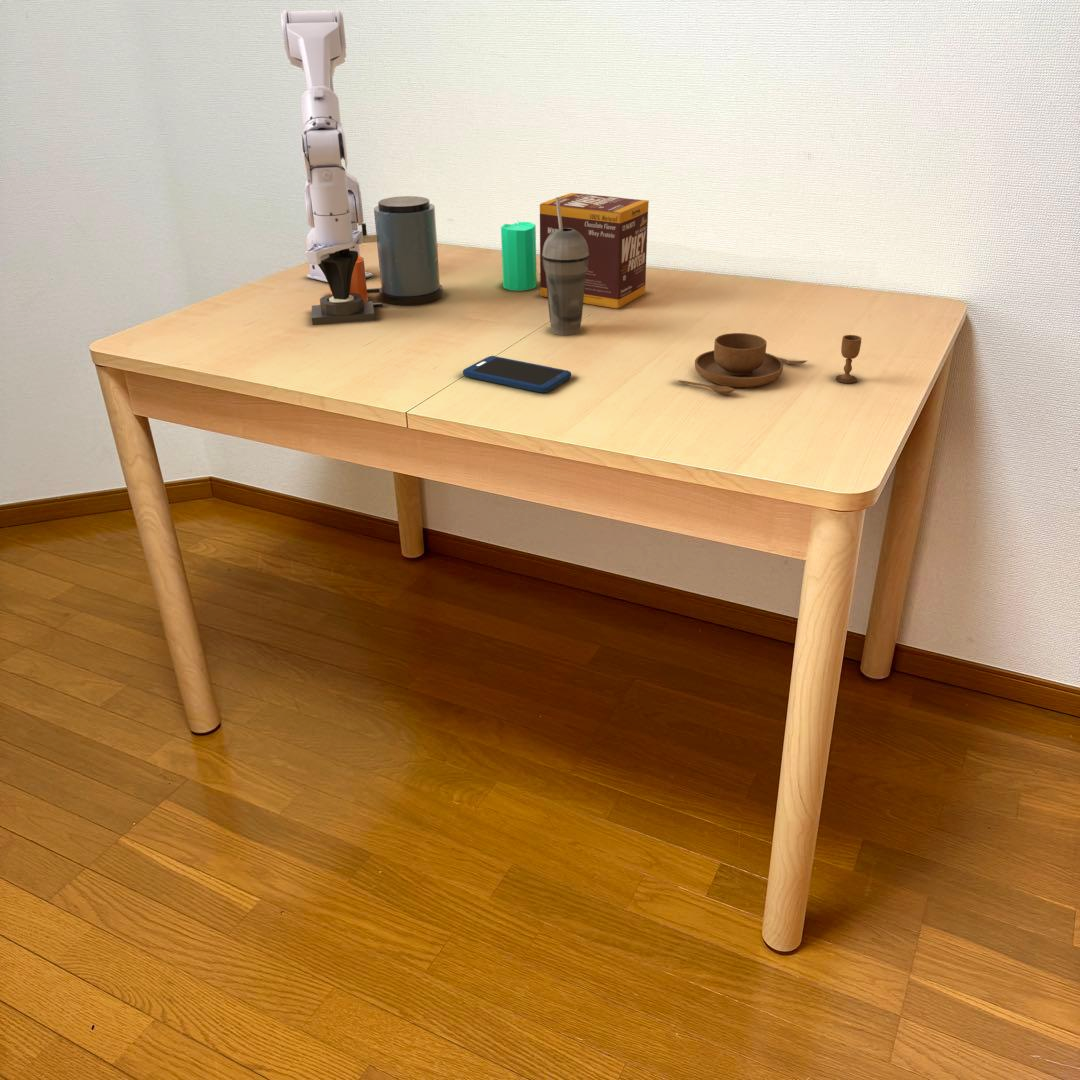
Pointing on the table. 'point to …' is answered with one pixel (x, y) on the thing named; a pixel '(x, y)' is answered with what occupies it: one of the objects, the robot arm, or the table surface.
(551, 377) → the cell phone
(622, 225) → the supplement box
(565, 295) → the beverage cup
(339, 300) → the button
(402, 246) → the dispenser
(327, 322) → the button block
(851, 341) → the place setting
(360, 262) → the cup
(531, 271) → the candle
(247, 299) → the table surface
